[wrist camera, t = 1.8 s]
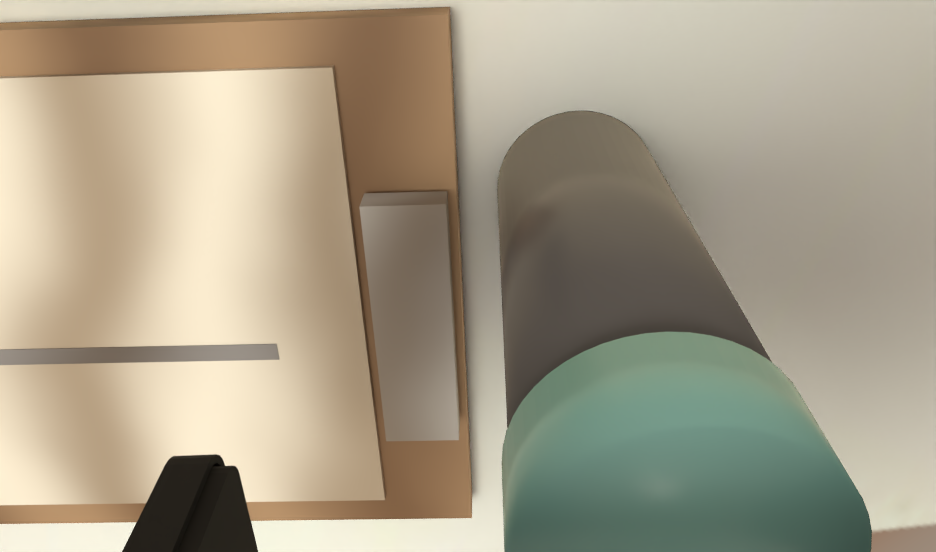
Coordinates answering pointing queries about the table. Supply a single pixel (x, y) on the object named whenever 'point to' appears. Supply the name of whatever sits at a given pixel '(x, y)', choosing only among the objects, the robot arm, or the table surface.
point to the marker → (642, 372)
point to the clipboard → (232, 264)
